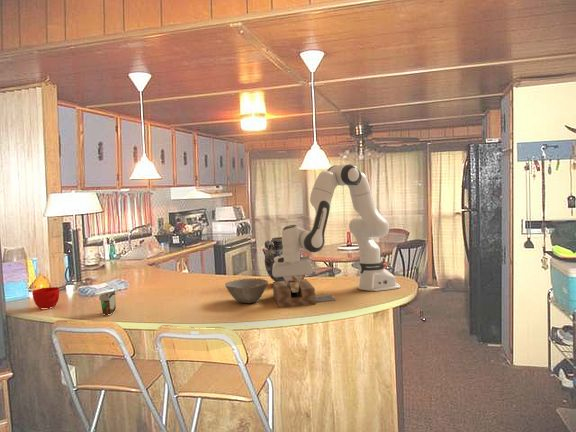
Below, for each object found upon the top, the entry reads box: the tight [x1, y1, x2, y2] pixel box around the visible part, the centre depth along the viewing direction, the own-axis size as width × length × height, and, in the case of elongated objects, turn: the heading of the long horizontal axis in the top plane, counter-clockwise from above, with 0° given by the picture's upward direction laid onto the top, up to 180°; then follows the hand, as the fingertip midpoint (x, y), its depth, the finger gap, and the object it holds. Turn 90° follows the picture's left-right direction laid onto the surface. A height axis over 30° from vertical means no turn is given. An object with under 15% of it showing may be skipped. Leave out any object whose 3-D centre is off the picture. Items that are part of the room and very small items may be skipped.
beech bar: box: [288, 282, 299, 291], centre depth 250 cm, size 4×10×4 cm, turn 7°
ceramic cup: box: [32, 286, 60, 309], centre depth 265 cm, size 13×17×10 cm
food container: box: [98, 290, 117, 315], centre depth 246 cm, size 12×6×10 cm, turn 5°
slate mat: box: [315, 294, 336, 303], centre depth 252 cm, size 10×10×1 cm
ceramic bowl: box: [224, 277, 269, 304], centre depth 255 cm, size 22×23×10 cm
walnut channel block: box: [272, 278, 316, 309], centre depth 252 cm, size 18×24×8 cm
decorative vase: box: [264, 236, 285, 282], centre depth 293 cm, size 21×19×28 cm
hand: (293, 284), depth 251 cm, fingers closed on beech bar, 4 cm apart
